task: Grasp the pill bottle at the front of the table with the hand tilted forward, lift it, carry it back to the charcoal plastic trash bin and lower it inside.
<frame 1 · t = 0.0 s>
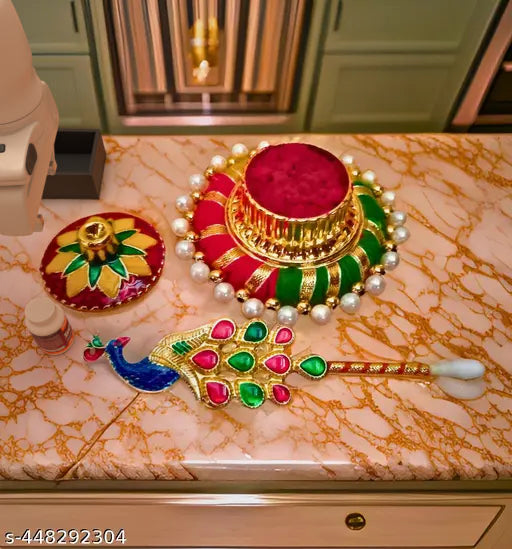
hand: (43, 198, 75), 33 cm above the worktop, tool pointing down, fingers open, 8 cm apart
pill bottle: (57, 340, 101), on the worktop
trash bin: (72, 175, 121), on the worktop
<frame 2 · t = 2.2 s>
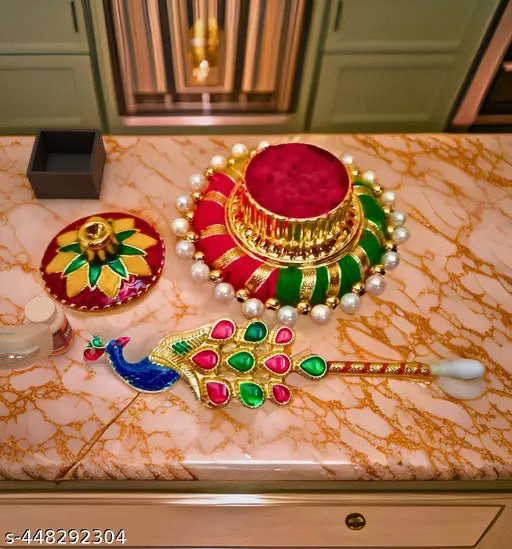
nothing on the worktop moved.
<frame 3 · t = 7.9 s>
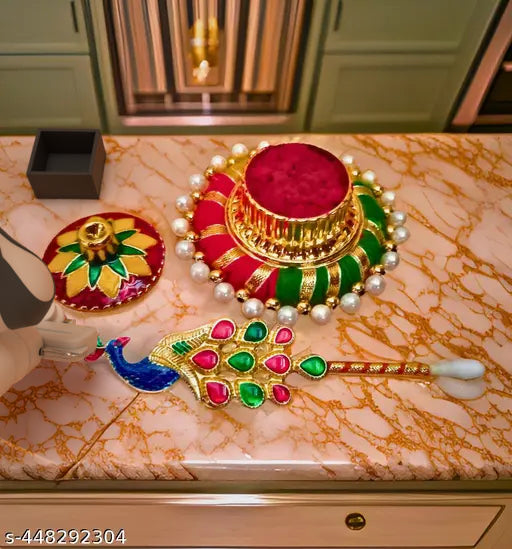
hand: (49, 320, 96), 6 cm above the worktop, tool tilted 45°, fingers closed on pill bottle, 6 cm apart
pill bottle: (57, 340, 101), on the worktop, touching gripper
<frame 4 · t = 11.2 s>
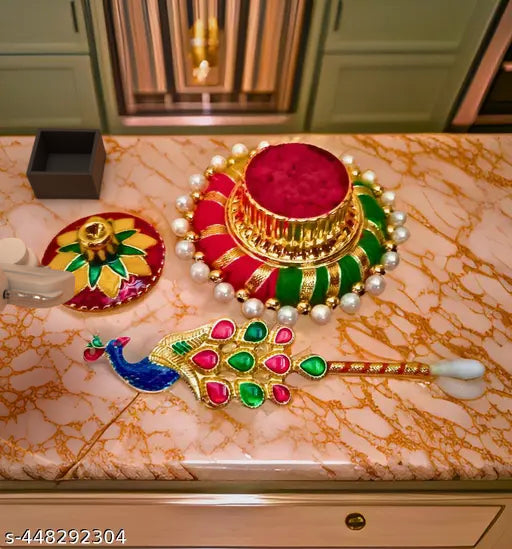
hand: (20, 267, 83), 22 cm above the worktop, tool tilted 45°, fingers closed on pill bottle, 6 cm apart
pill bottle: (31, 293, 88), point 15 cm above the worktop, touching gripper
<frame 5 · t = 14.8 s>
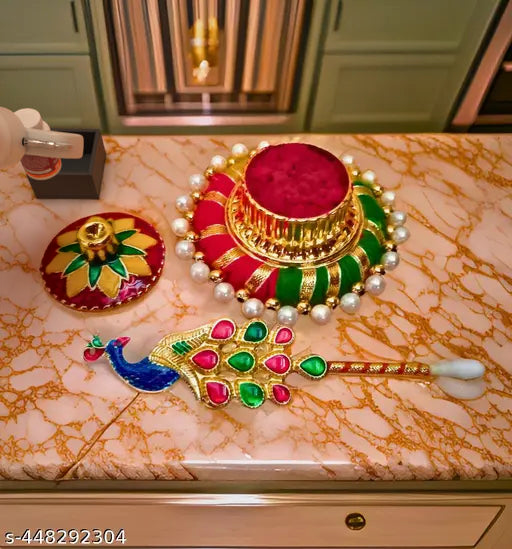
hand: (35, 139, 94), 23 cm above the worktop, tool tilted 45°, fingers closed on pill bottle, 6 cm apart
pill bottle: (44, 168, 99), point 17 cm above the worktop, touching gripper
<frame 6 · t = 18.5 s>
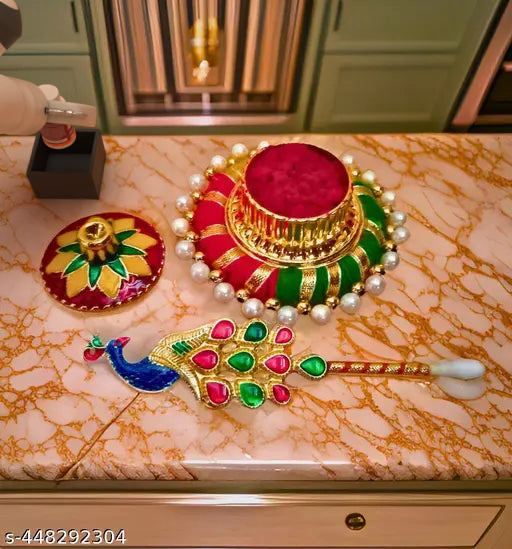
hand: (53, 112, 107), 17 cm above the worktop, tool tilted 45°, fingers closed on pill bottle, 6 cm apart
pill bottle: (60, 139, 112), point 10 cm above the worktop, touching gripper
when the fingers open (7 cm above the worktop, at t = 21.8 s): pill bottle stays where it is, resting on trash bin.
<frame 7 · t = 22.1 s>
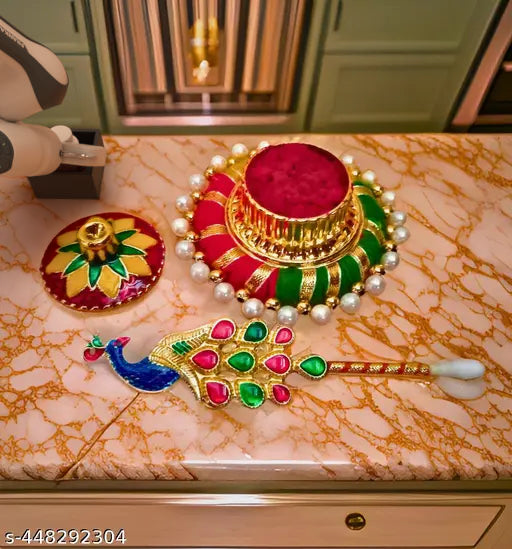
hand: (65, 150, 115), 7 cm above the worktop, tool tilted 45°, fingers open, 8 cm apart
pill bottle: (72, 173, 120), point 1 cm above the worktop, touching trash bin
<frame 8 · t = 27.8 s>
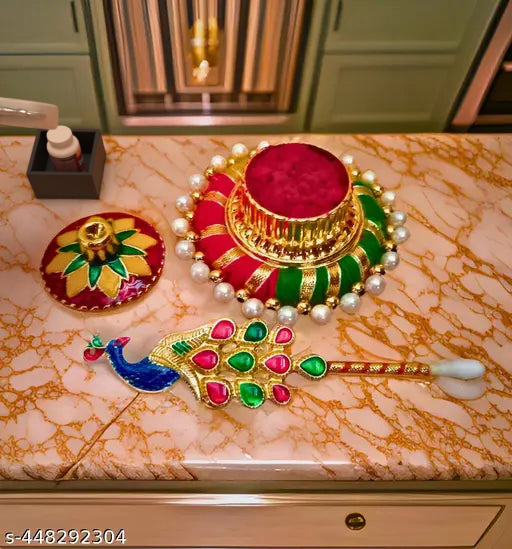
hand: (10, 112, 91), 27 cm above the worktop, tool tilted 45°, fingers open, 8 cm apart
nothing on the worktop moved.
at the end: pill bottle inside the target area in the trash bin (0.1 cm from its centre), point 0.6 cm above the trash bin's base; the gripper is holding nothing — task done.
